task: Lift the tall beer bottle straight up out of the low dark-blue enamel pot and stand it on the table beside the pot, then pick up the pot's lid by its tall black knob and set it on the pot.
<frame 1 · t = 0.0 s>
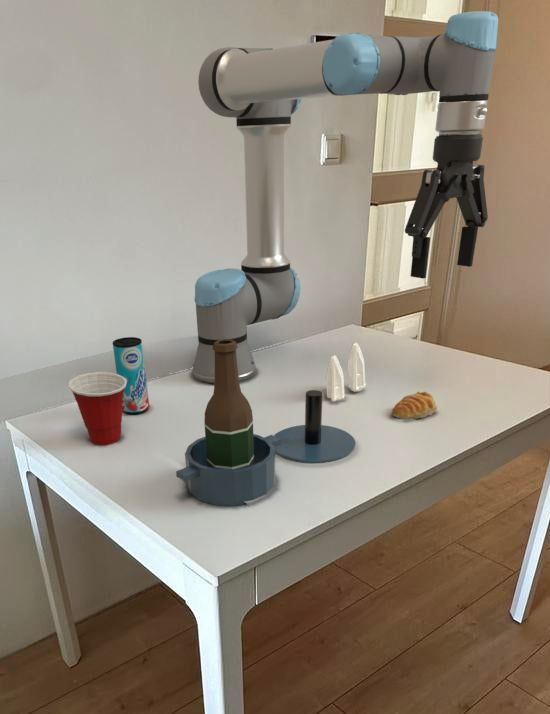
hand: (441, 271, 113), 28 cm above the table, tool pointing down, fingers open, 13 cm apart
pastry: (414, 414, 129), on the table
plastic cup: (107, 440, 124), on the table
pot: (231, 483, 107), on the table
shaker set: (346, 395, 140), on the table
beer bottle: (231, 483, 107), resting on pot
beverage can: (136, 410, 136), on the table
lid: (312, 443, 117), point 1 cm above the table
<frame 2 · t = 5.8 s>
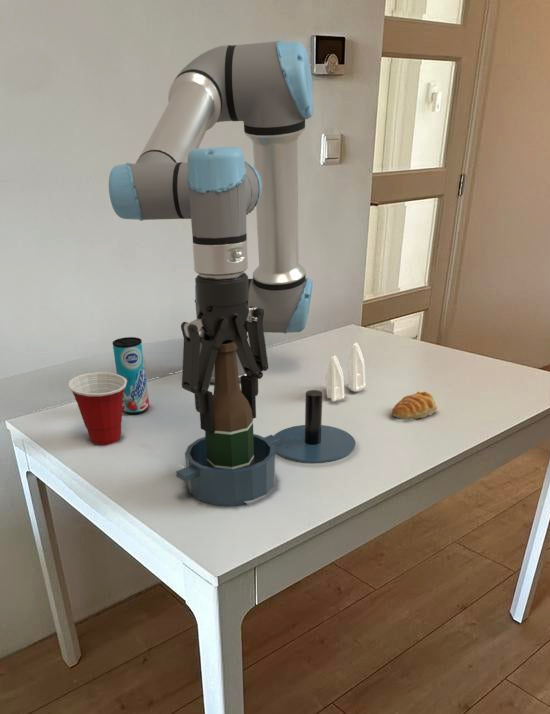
hand: (228, 422, 101), 11 cm above the table, tool pointing down, fingers closed on beer bottle, 8 cm apart
beer bottle: (231, 483, 107), resting on pot, touching gripper
everything else where it was.
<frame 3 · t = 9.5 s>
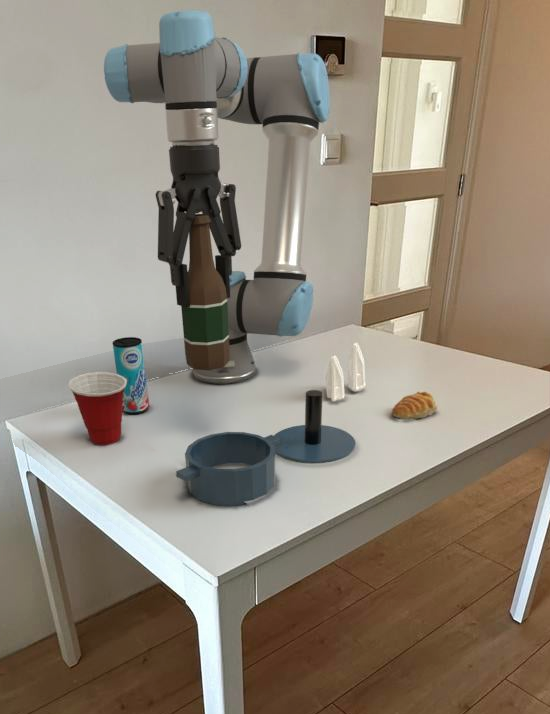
hand: (204, 300, 106), 27 cm above the table, tool pointing down, fingers closed on beer bottle, 8 cm apart
beer bottle: (208, 364, 112), point 16 cm above the table, touching gripper
everything else where it was.
when the fingers open (11 cm above the table, at t = 13.4 s): beer bottle stays where it is, on the table.
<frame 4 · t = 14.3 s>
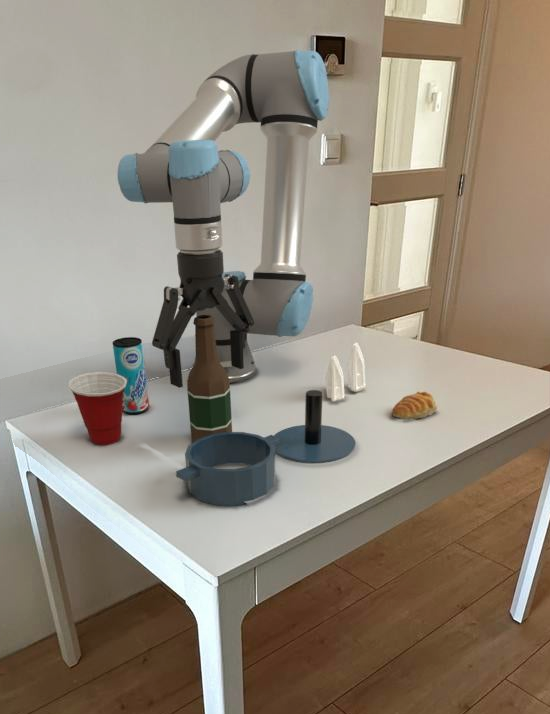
hand: (208, 376, 114), 13 cm above the table, tool pointing down, fingers open, 13 cm apart
beer bottle: (212, 444, 120), on the table
everything else where it was.
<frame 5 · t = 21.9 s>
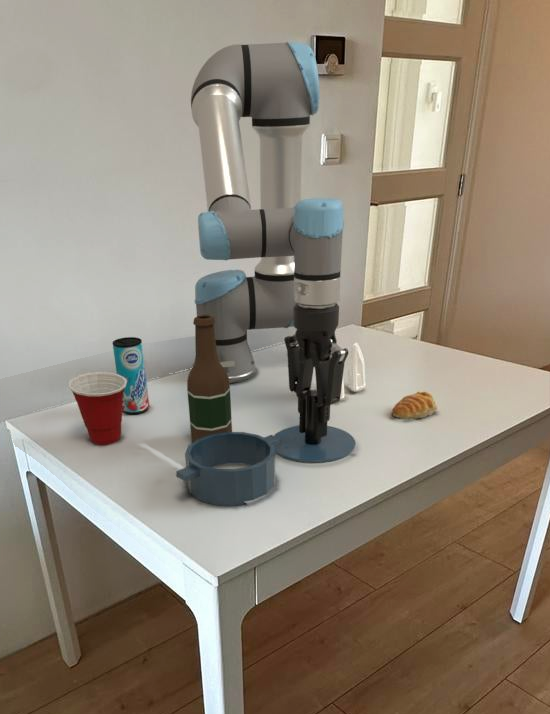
hand: (312, 433, 116), 3 cm above the table, tool pointing down, fingers closed on lid, 3 cm apart
lid: (312, 443, 117), point 1 cm above the table, touching gripper
everything else where it was.
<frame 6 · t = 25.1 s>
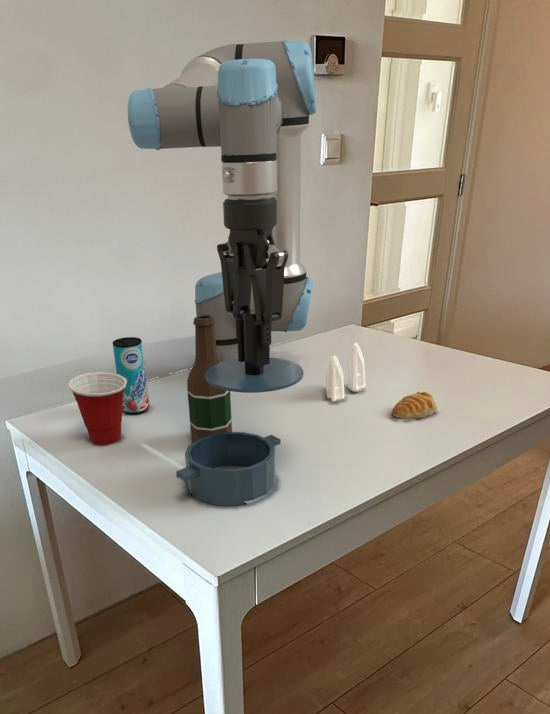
hand: (253, 362, 99), 20 cm above the table, tool pointing down, fingers closed on lid, 3 cm apart
lid: (254, 375, 100), point 18 cm above the table, touching gripper
everything else where it was.
when the fingers open (8 cm above the table, at t = 28.4 s): lid stays where it is, resting on pot.
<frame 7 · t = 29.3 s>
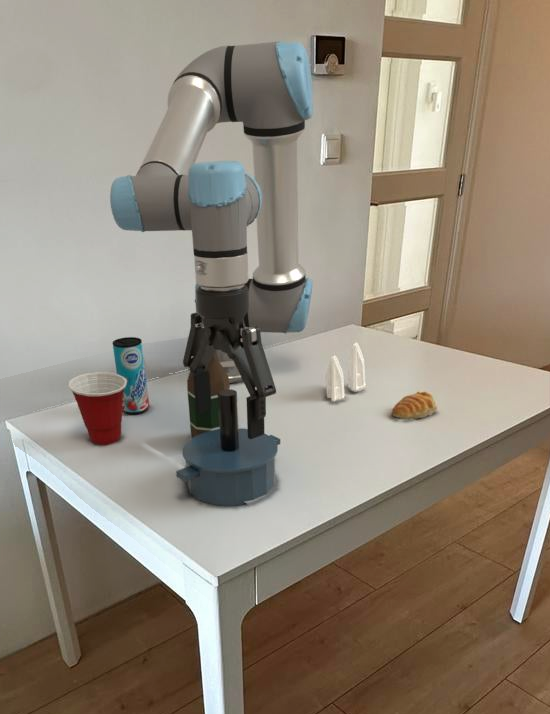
hand: (228, 423, 101), 11 cm above the table, tool pointing down, fingers open, 13 cm apart
lid: (230, 450, 103), point 6 cm above the table, touching pot
everything else where it was.
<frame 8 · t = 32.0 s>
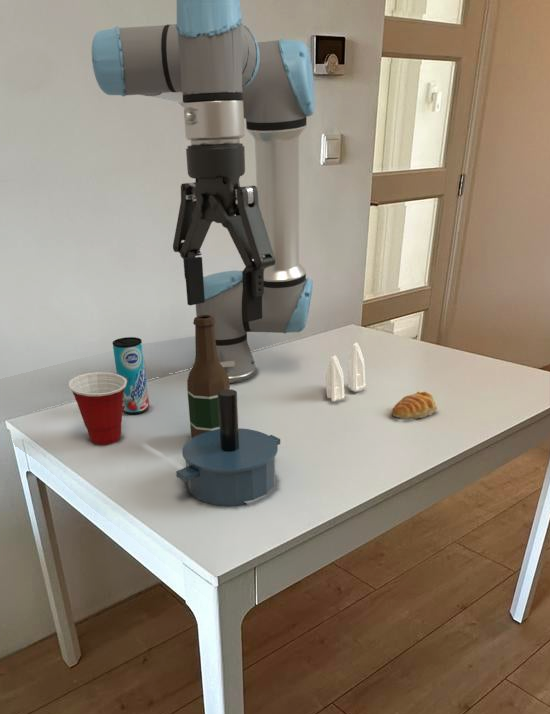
hand: (223, 311, 92), 29 cm above the table, tool pointing down, fingers open, 13 cm apart
nothing on the table moved.
at the end: beer bottle inside the target area (0.1 cm from its centre), on the table; beer bottle tilted 0°; lid 0.0 cm off-centre on the pot, point 6.3 cm above the pot's base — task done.
